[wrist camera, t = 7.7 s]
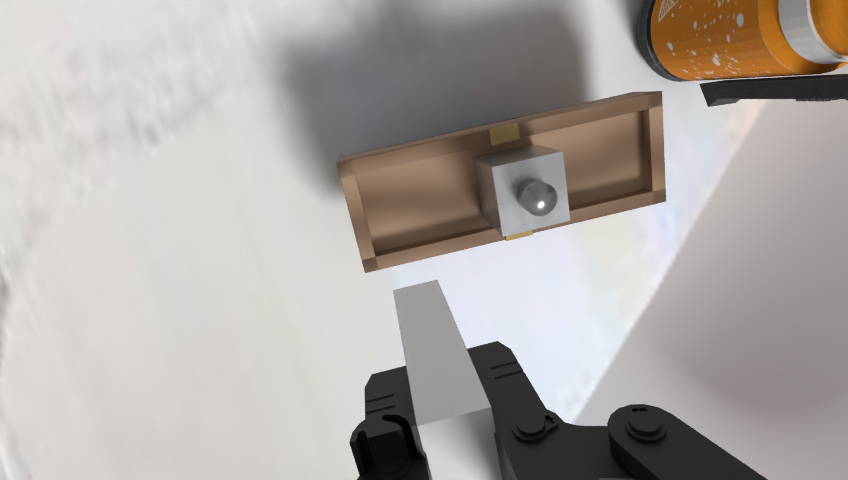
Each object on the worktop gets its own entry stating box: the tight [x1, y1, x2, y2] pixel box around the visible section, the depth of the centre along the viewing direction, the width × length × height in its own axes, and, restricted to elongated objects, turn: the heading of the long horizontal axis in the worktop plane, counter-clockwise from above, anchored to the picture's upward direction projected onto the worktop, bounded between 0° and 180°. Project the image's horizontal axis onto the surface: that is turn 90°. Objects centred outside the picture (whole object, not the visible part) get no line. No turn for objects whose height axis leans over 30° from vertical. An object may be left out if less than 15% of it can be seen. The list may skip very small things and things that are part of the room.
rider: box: [473, 144, 570, 237], centre depth 30 cm, size 4×4×6 cm
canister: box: [638, 0, 848, 107], centre depth 29 cm, size 9×11×20 cm
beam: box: [336, 91, 666, 273], centre depth 36 cm, size 8×23×8 cm, turn 101°
